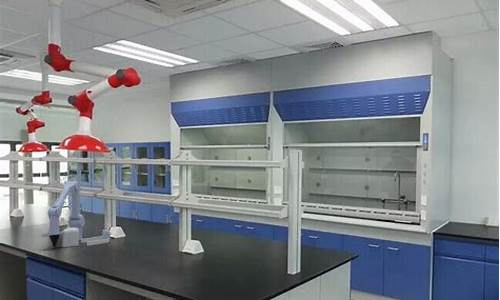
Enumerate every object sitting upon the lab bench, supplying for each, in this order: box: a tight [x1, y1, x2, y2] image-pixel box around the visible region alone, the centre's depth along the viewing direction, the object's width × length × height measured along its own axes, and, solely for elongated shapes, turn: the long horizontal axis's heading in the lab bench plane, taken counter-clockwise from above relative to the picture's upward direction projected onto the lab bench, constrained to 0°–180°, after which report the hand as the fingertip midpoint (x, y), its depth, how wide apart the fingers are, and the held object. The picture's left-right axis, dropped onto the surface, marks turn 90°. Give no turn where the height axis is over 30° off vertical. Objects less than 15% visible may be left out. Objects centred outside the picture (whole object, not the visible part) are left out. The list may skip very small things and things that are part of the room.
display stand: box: [80, 229, 112, 246], centre depth 269 cm, size 12×16×7 cm
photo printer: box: [61, 227, 80, 248], centre depth 258 cm, size 10×4×12 cm, turn 123°
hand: (54, 246), depth 251 cm, fingers closed
